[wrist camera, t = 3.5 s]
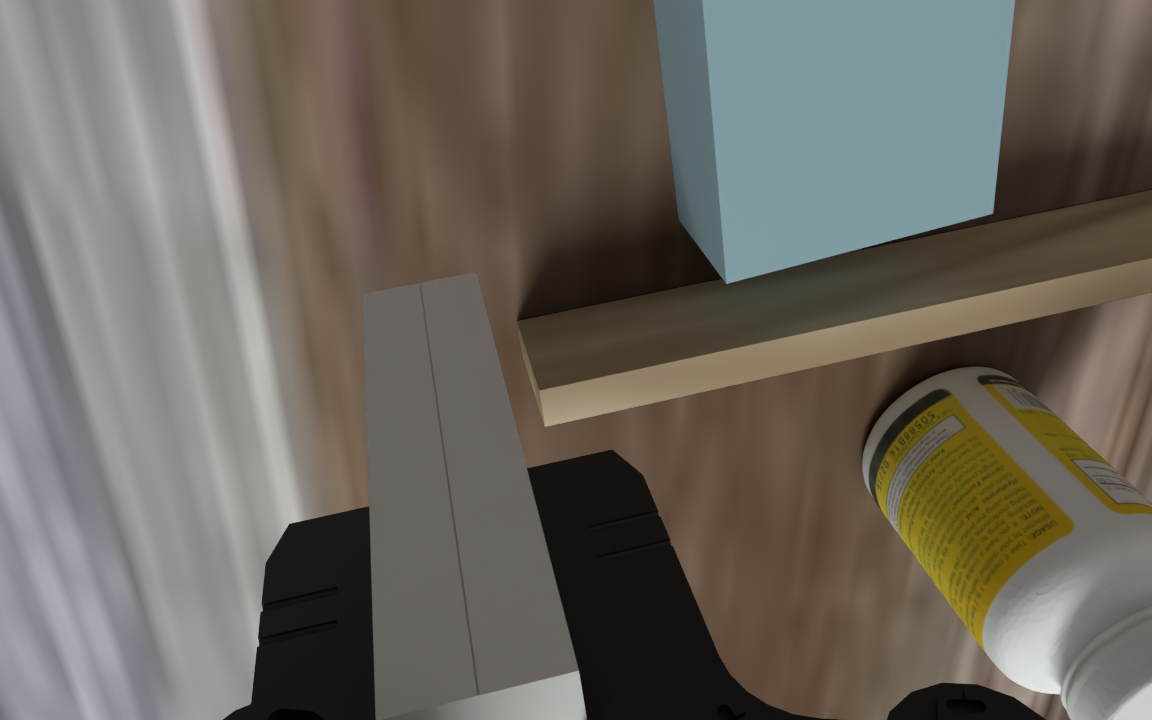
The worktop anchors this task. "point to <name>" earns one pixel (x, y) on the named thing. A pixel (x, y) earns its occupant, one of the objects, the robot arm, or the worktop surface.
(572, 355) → the wooden frame tray
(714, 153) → the block
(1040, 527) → the supplement bottle
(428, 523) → the robot arm
